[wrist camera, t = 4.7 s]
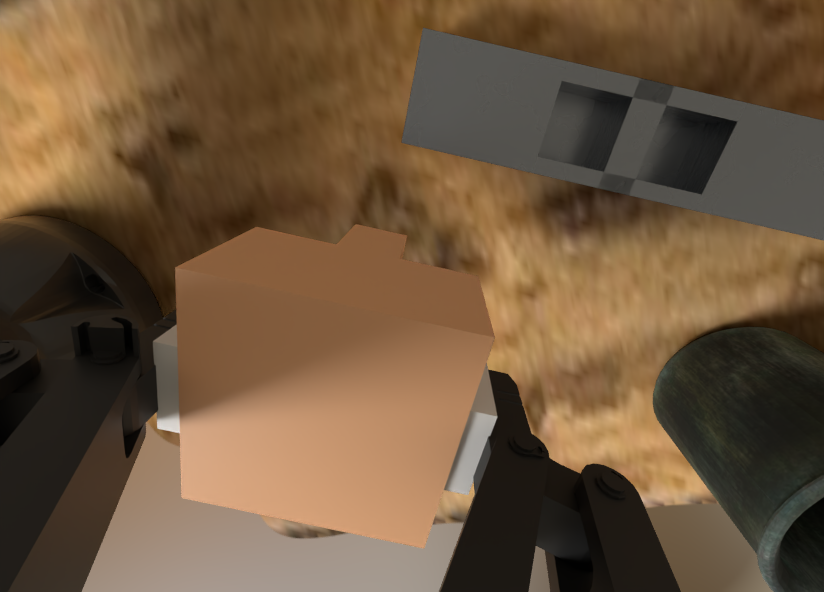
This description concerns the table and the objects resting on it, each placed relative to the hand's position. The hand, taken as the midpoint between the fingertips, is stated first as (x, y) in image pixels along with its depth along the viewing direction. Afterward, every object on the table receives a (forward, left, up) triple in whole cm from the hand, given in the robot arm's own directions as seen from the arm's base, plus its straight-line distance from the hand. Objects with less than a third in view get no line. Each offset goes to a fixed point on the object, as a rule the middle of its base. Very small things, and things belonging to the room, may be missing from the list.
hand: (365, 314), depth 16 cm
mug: (+26, -4, -11) cm, 29 cm away
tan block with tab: (0, 0, 0) cm, 0 cm away
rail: (+10, +9, -11) cm, 18 cm away
